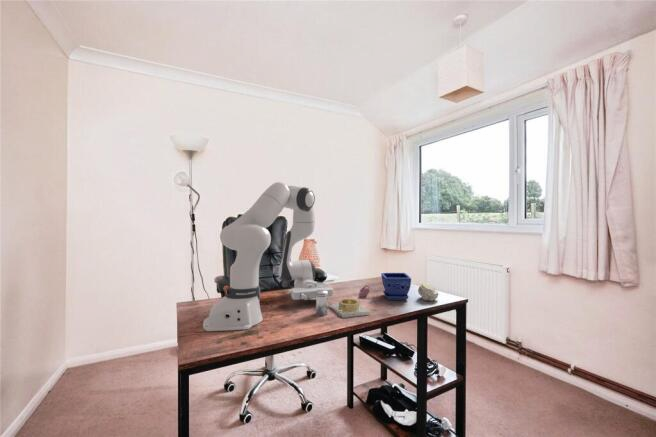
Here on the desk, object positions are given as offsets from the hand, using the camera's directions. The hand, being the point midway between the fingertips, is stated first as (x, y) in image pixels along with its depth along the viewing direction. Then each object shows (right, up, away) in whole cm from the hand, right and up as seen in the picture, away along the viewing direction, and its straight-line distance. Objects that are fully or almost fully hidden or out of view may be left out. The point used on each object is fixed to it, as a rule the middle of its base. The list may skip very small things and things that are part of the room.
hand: (316, 297), depth 129 cm
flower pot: (+40, -6, +19) cm, 45 cm away
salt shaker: (+2, -6, -6) cm, 9 cm away
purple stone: (+25, -5, +23) cm, 34 cm away
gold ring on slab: (+14, -6, -2) cm, 16 cm away
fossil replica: (+56, -6, +16) cm, 59 cm away
